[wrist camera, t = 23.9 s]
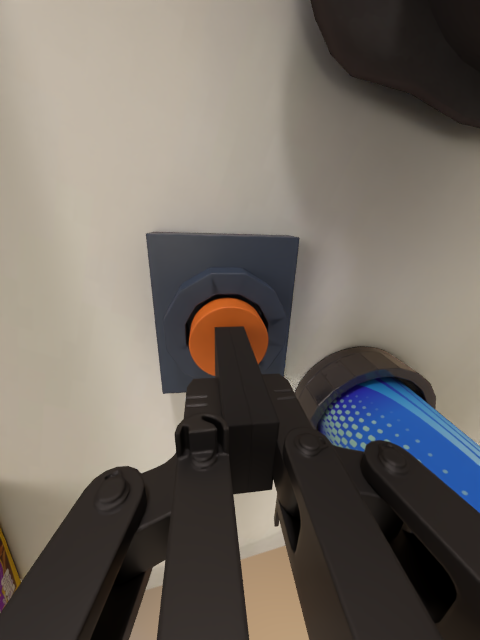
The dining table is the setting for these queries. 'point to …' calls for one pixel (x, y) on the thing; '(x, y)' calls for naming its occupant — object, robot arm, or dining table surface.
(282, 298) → the button base
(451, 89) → the casserole
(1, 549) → the candy box
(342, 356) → the dock
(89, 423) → the dining table surface
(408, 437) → the beer can
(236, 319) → the button
